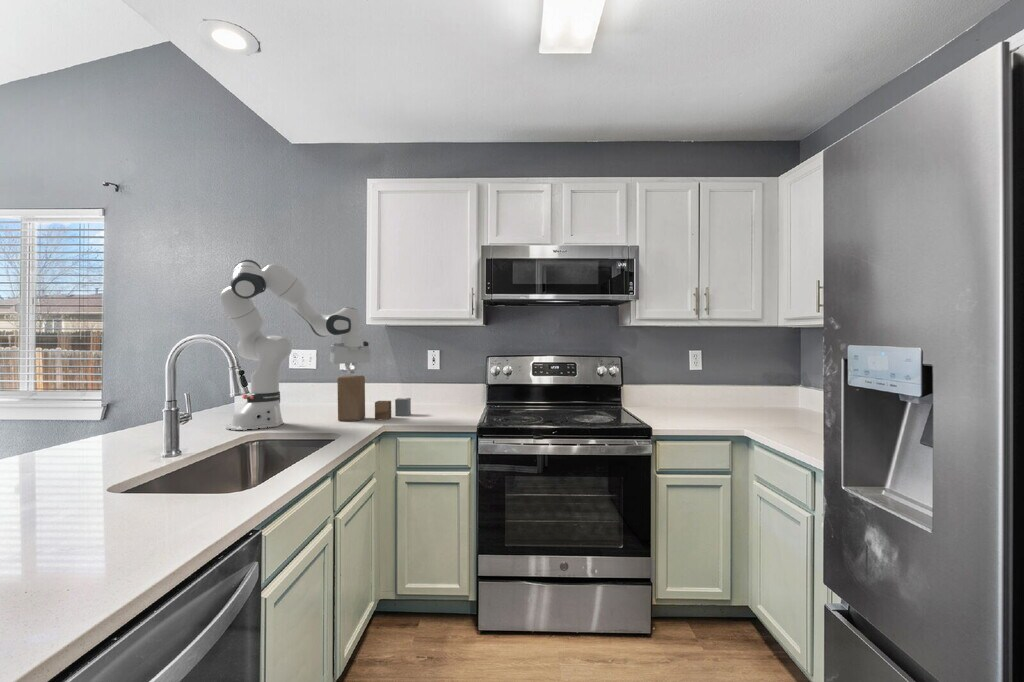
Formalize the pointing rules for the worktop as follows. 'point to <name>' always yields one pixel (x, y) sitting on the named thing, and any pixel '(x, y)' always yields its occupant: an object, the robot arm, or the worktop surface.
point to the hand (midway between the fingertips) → (350, 373)
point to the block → (351, 397)
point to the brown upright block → (383, 410)
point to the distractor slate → (402, 406)
